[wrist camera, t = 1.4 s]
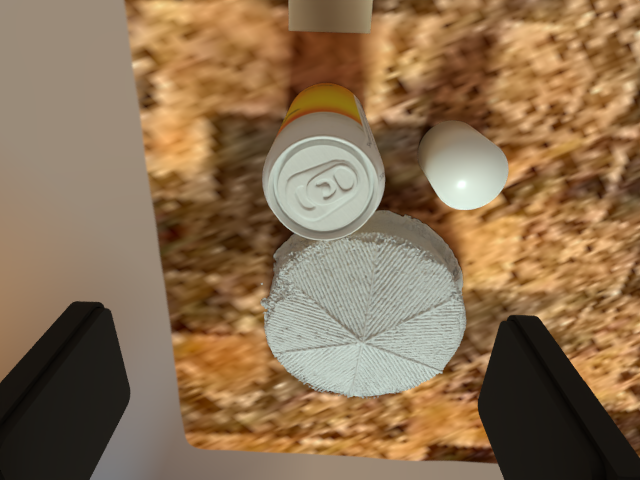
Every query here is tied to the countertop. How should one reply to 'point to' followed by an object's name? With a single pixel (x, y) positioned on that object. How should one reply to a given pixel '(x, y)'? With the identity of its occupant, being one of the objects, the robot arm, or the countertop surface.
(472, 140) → the white capsule
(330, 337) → the food container
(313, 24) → the maple block
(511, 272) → the countertop surface
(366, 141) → the beer can
